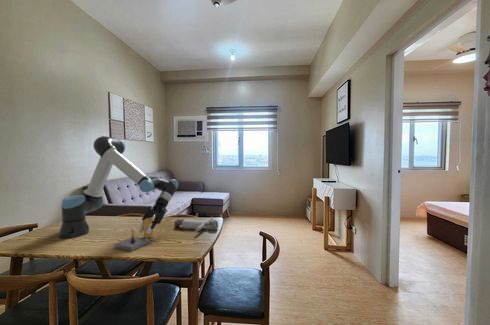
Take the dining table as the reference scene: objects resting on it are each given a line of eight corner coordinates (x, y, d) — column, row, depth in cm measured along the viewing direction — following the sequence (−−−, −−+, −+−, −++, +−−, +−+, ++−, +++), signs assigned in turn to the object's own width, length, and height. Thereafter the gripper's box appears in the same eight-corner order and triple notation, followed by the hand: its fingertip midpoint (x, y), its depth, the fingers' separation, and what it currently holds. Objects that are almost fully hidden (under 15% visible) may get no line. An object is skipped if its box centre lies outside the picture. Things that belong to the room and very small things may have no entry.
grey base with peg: (115, 247, 119) (114, 230, 118) (134, 239, 130) (133, 224, 129) (131, 251, 114) (131, 233, 114) (149, 242, 125) (149, 226, 125)
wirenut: (141, 237, 133) (141, 219, 133) (148, 234, 138) (148, 217, 138) (148, 238, 131) (148, 220, 131) (155, 235, 136) (155, 217, 136)
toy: (164, 234, 138) (210, 238, 132) (164, 224, 138) (210, 227, 132) (186, 221, 167) (224, 223, 161) (186, 212, 167) (224, 214, 161)
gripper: (177, 204, 145) (159, 238, 130) (155, 202, 152) (136, 233, 137) (171, 197, 140) (151, 232, 125) (149, 195, 147) (128, 227, 132)
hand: (143, 232), depth 131 cm, fingers closed on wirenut, 5 cm apart
